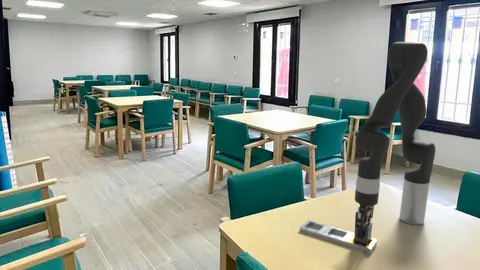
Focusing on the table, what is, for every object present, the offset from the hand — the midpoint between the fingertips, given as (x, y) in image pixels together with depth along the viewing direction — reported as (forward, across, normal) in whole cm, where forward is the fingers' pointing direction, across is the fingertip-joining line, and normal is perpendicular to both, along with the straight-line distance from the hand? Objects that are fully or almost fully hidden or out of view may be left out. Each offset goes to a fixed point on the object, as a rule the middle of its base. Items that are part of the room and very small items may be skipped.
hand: (362, 234), depth 126 cm
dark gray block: (+4, 0, 0) cm, 4 cm away
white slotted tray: (+5, 0, +9) cm, 10 cm away
